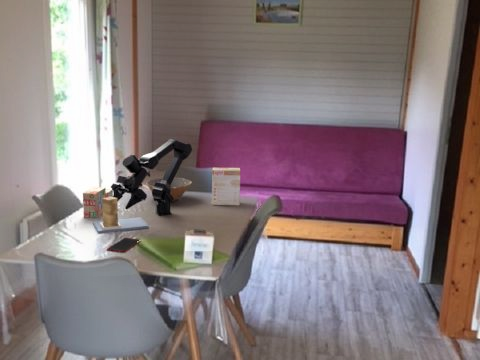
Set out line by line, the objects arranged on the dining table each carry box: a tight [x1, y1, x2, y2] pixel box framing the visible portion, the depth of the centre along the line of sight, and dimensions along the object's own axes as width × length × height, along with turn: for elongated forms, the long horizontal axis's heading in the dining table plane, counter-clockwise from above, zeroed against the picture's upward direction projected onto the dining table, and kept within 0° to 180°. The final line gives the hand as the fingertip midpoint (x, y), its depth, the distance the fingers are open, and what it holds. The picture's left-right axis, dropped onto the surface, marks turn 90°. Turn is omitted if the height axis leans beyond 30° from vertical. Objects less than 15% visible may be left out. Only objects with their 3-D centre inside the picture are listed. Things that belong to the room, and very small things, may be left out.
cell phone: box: [106, 237, 140, 254], centre depth 194 cm, size 8×15×1 cm, turn 164°
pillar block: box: [102, 197, 119, 227], centre depth 213 cm, size 4×4×13 cm
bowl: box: [146, 177, 192, 202], centre depth 267 cm, size 25×25×10 cm
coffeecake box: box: [211, 167, 241, 206], centre depth 261 cm, size 15×7×20 cm, turn 92°
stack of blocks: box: [82, 186, 114, 219], centre depth 239 cm, size 21×6×12 cm, turn 172°
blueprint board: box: [92, 216, 149, 234], centre depth 219 cm, size 22×14×2 cm, turn 116°
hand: (119, 207), depth 216 cm, fingers open, 9 cm apart
